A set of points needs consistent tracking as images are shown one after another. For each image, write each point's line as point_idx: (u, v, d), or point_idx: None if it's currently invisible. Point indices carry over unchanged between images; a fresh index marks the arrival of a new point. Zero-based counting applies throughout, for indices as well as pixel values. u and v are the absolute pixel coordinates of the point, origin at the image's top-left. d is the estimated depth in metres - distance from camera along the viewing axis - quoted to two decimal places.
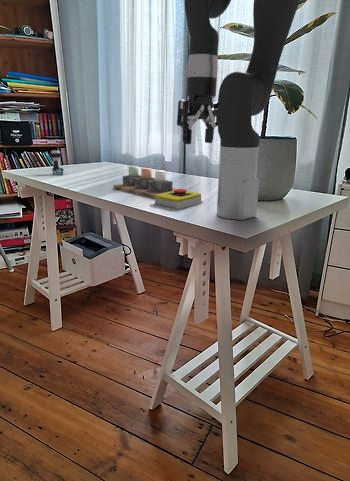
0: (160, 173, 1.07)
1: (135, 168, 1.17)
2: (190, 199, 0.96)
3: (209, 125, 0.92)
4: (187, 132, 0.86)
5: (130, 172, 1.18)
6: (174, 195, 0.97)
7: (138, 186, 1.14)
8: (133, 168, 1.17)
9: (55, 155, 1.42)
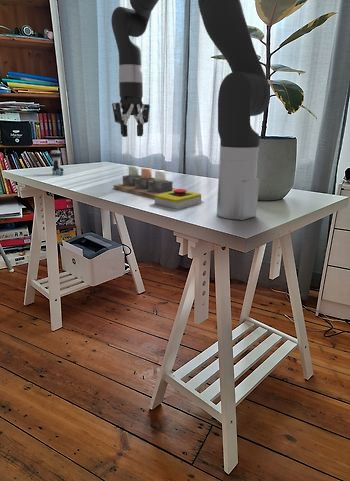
0: (160, 173, 1.07)
1: (135, 168, 1.17)
2: (190, 199, 0.96)
3: (139, 121, 1.15)
4: (123, 127, 1.11)
5: (130, 172, 1.18)
6: (174, 195, 0.97)
7: (138, 186, 1.14)
8: (133, 168, 1.17)
9: (55, 155, 1.42)
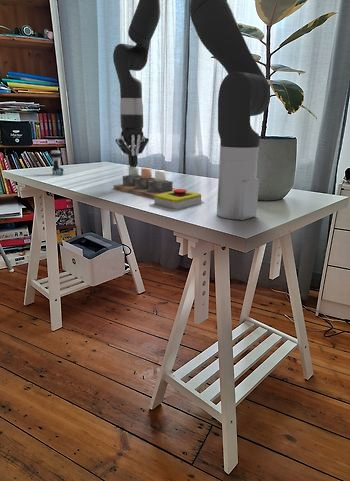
0: (160, 173, 1.07)
1: (135, 168, 1.17)
2: (189, 199, 0.96)
3: (134, 152, 1.17)
4: (131, 158, 1.16)
5: (130, 172, 1.18)
6: (173, 195, 0.97)
7: (138, 186, 1.14)
8: (133, 168, 1.17)
9: (55, 155, 1.42)
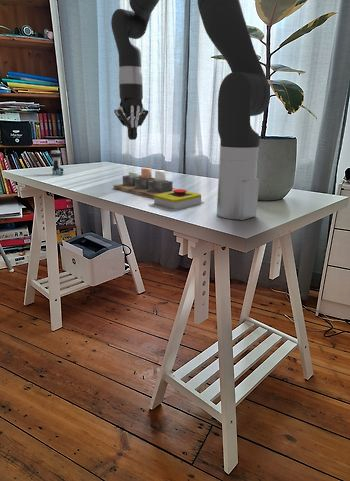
0: (160, 173, 1.07)
1: (135, 174, 1.18)
2: (189, 199, 0.96)
3: None
4: (130, 130, 1.13)
5: None
6: (173, 195, 0.97)
7: (138, 186, 1.14)
8: (133, 174, 1.17)
9: (55, 155, 1.42)
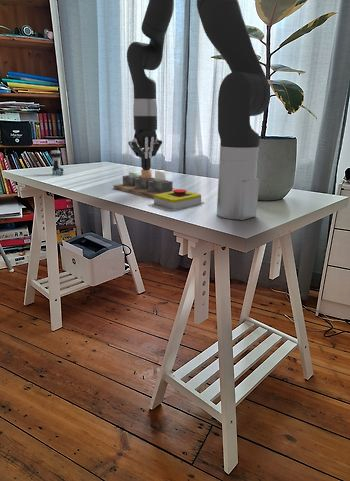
0: (160, 173, 1.07)
1: (135, 174, 1.18)
2: (188, 199, 0.95)
3: None
4: (144, 161, 1.11)
5: None
6: (173, 195, 0.97)
7: (138, 186, 1.14)
8: (133, 174, 1.17)
9: (55, 155, 1.42)
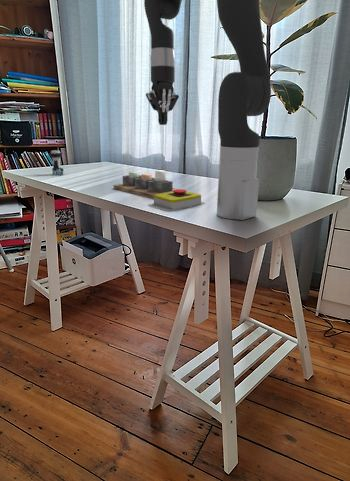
0: (160, 173, 1.07)
1: (135, 174, 1.18)
2: (188, 199, 0.95)
3: None
4: (161, 115, 1.09)
5: None
6: (173, 195, 0.97)
7: (138, 186, 1.14)
8: (133, 174, 1.17)
9: (55, 155, 1.42)
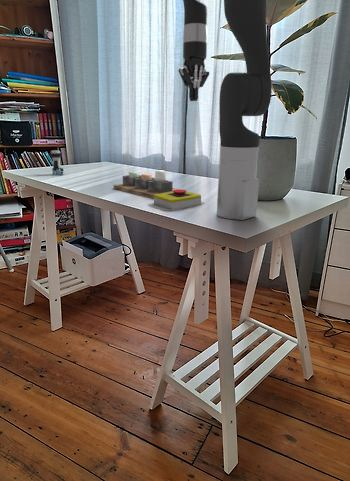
0: (160, 173, 1.07)
1: (135, 174, 1.18)
2: (187, 199, 0.95)
3: None
4: (192, 91, 1.12)
5: None
6: (172, 195, 0.97)
7: (138, 186, 1.14)
8: (133, 174, 1.17)
9: (55, 155, 1.42)
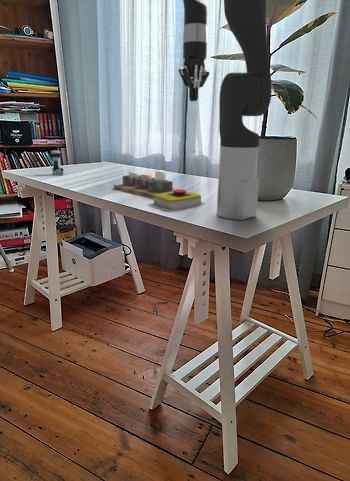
0: (160, 173, 1.07)
1: (135, 174, 1.18)
2: (187, 200, 0.95)
3: None
4: (192, 91, 1.12)
5: None
6: (172, 195, 0.97)
7: (138, 186, 1.14)
8: (133, 174, 1.17)
9: (55, 155, 1.42)
